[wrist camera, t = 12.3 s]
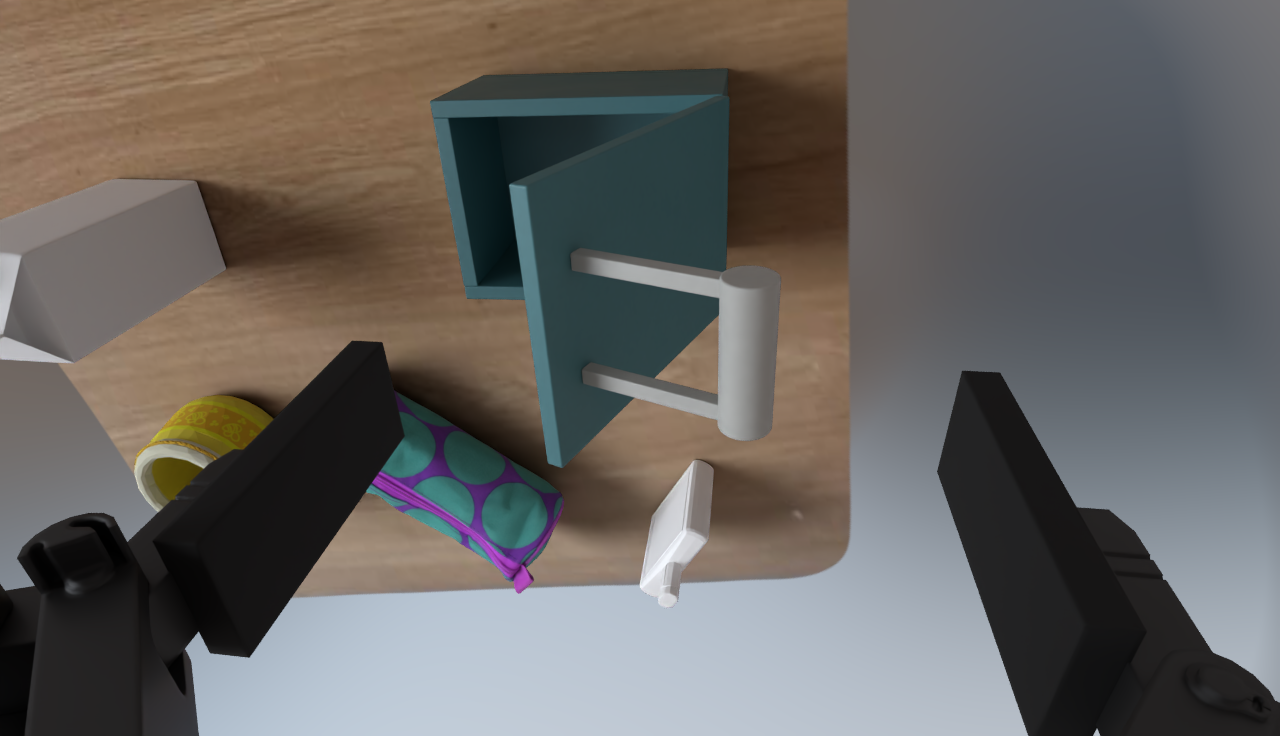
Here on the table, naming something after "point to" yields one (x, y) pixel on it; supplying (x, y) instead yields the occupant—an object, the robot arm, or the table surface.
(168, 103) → the table surface
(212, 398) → the yellow pot
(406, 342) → the table surface
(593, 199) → the lid
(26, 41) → the table surface
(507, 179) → the chest
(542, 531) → the pencil case
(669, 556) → the perfume bottle
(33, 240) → the milk carton
